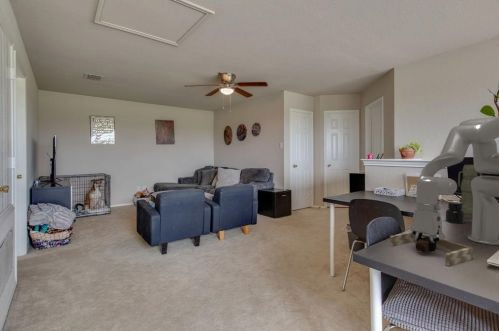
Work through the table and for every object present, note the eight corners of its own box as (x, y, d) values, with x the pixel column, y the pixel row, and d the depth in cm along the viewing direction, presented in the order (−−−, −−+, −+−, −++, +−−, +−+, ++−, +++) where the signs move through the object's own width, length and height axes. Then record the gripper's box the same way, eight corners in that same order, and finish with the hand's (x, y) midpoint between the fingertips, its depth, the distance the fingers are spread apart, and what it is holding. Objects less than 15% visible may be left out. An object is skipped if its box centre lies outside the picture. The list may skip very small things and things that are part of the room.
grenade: (482, 219, 165) (484, 164, 163) (458, 217, 171) (460, 164, 169) (478, 216, 172) (480, 164, 171) (456, 214, 179) (457, 164, 177)
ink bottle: (459, 220, 163) (459, 201, 163) (468, 224, 155) (468, 204, 154) (441, 219, 165) (442, 201, 165) (450, 223, 156) (450, 203, 156)
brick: (426, 245, 116) (426, 235, 116) (436, 248, 113) (436, 238, 112) (415, 251, 110) (415, 240, 110) (425, 254, 107) (425, 243, 107)
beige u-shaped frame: (413, 240, 127) (413, 231, 126) (473, 258, 105) (473, 247, 104) (389, 245, 120) (390, 236, 120) (448, 266, 98) (448, 254, 97)
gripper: (454, 210, 104) (453, 254, 105) (412, 203, 119) (412, 241, 120) (443, 212, 101) (442, 258, 102) (402, 204, 116) (401, 244, 117)
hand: (425, 248), depth 111 cm, fingers closed on brick, 4 cm apart
